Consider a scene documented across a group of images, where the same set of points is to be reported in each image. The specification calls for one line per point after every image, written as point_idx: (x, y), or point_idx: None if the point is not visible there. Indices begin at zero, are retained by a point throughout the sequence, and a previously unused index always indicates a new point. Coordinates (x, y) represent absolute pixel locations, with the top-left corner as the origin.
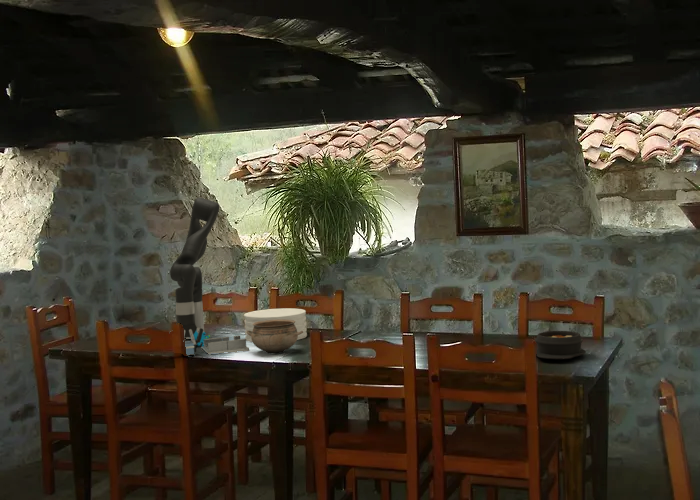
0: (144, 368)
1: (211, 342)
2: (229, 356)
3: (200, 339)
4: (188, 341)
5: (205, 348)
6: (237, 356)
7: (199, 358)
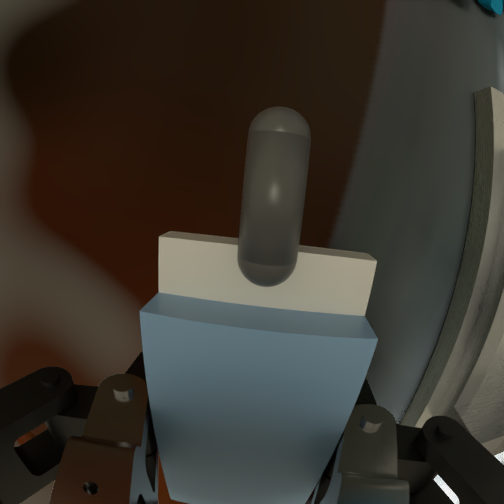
0: (25, 438)
1: (499, 439)
2: (435, 480)
3: (430, 497)
4: (315, 363)
5: (496, 241)
6: None
7: None
